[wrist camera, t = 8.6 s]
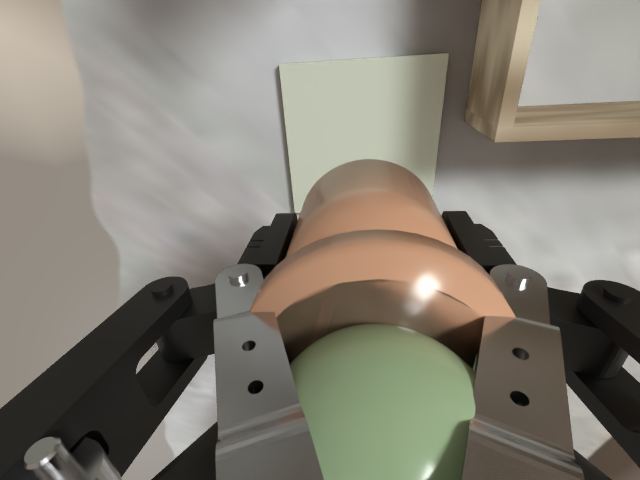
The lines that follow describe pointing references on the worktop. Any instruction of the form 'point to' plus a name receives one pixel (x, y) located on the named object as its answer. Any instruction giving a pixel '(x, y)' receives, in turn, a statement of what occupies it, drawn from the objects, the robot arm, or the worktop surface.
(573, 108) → the wooden shadow box
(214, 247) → the worktop surface
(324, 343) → the terracotta pot
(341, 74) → the sage mat
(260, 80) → the worktop surface
